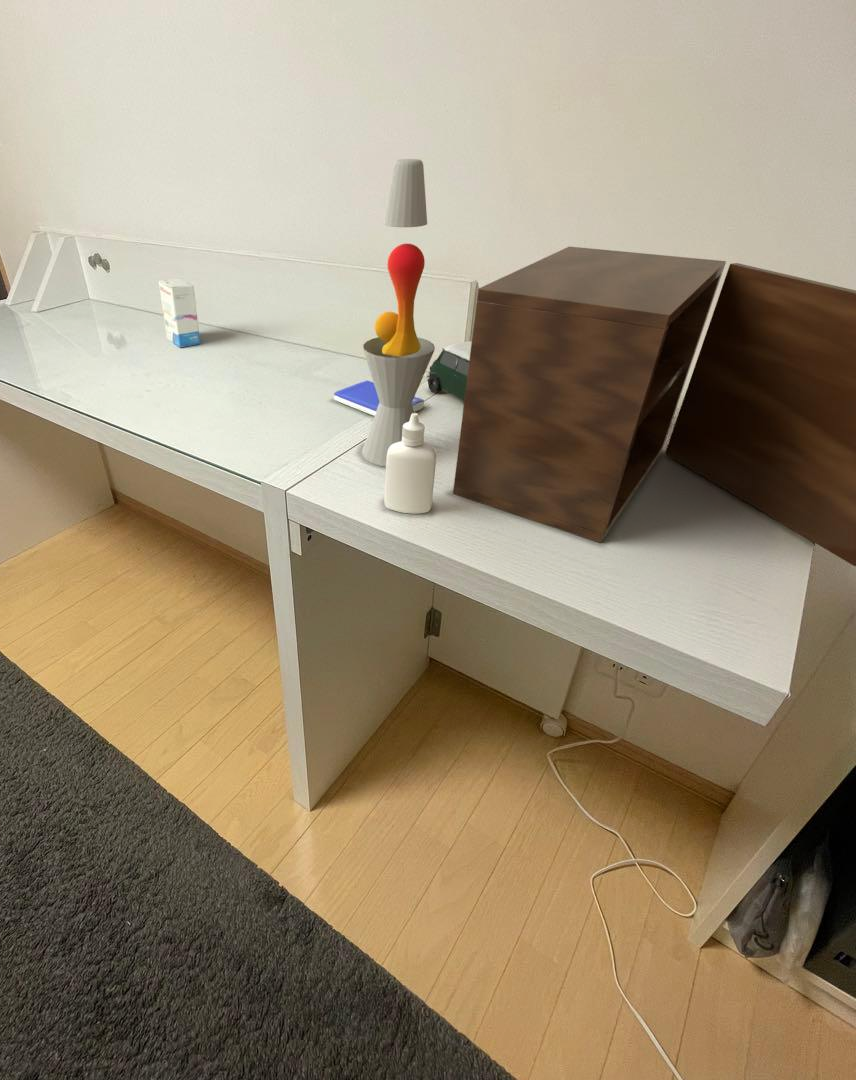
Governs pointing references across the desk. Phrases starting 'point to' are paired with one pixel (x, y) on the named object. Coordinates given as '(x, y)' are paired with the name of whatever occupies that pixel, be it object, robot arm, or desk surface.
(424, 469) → the eye dropper bottle
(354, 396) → the blue book
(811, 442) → the door
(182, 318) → the ink box
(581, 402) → the cupboard
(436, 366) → the miniature car
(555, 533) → the desk surface
